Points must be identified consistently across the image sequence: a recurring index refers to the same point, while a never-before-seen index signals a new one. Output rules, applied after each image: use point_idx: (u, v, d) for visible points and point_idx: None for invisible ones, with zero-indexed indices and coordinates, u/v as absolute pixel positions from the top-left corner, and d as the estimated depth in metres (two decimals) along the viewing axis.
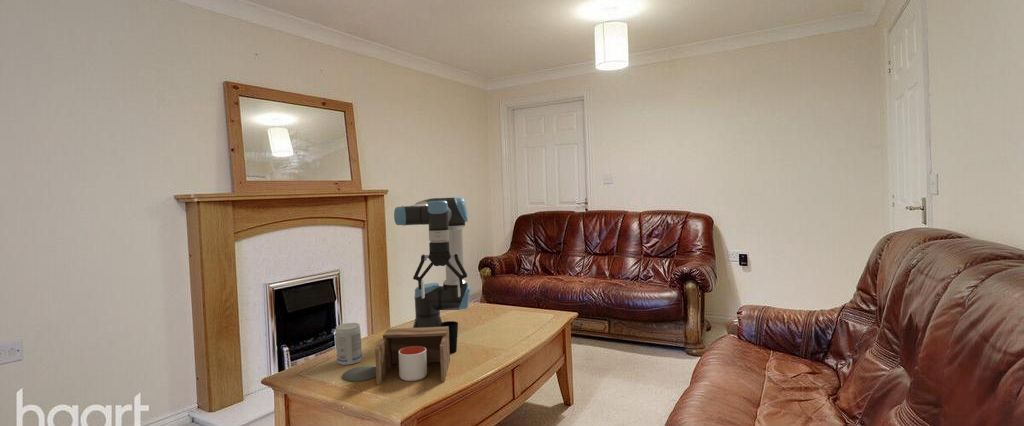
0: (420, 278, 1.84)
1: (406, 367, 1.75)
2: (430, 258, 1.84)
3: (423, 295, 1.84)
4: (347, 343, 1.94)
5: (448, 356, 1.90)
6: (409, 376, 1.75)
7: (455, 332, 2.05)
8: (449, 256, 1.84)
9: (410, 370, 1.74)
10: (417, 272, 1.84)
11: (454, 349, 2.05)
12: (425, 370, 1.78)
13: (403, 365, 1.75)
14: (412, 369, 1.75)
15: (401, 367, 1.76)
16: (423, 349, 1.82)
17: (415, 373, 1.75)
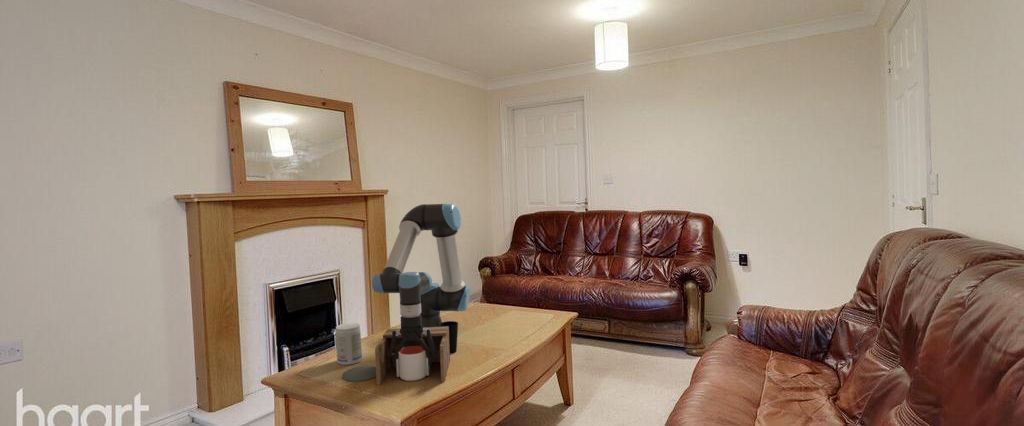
0: (395, 356, 1.78)
1: (406, 367, 1.75)
2: (401, 333, 1.78)
3: (398, 373, 1.78)
4: (347, 343, 1.94)
5: (448, 356, 1.90)
6: (409, 376, 1.75)
7: (455, 332, 2.05)
8: (421, 330, 1.78)
9: (410, 370, 1.74)
10: (391, 349, 1.78)
11: (454, 349, 2.05)
12: (425, 370, 1.78)
13: (403, 365, 1.75)
14: (412, 369, 1.75)
15: (401, 367, 1.76)
16: None
17: (415, 373, 1.75)
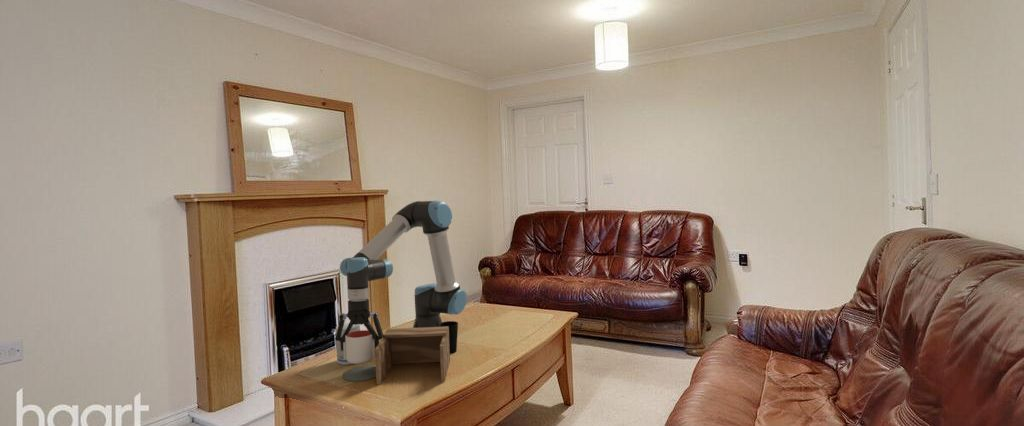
0: (342, 339, 1.82)
1: (351, 350, 1.78)
2: (348, 316, 1.82)
3: (345, 356, 1.82)
4: None
5: (448, 356, 1.90)
6: (354, 359, 1.78)
7: (455, 332, 2.05)
8: (368, 314, 1.82)
9: (355, 353, 1.78)
10: (338, 333, 1.82)
11: (454, 349, 2.05)
12: (371, 353, 1.82)
13: (349, 348, 1.79)
14: (358, 352, 1.78)
15: (347, 350, 1.80)
16: None
17: (361, 356, 1.79)
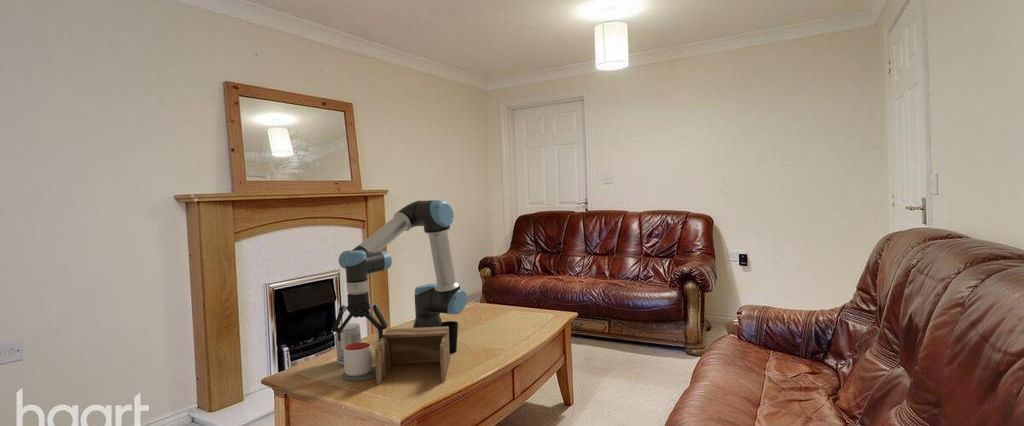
0: (339, 330, 1.82)
1: (349, 363, 1.79)
2: (348, 309, 1.82)
3: (343, 347, 1.82)
4: (347, 343, 1.94)
5: (448, 356, 1.90)
6: (352, 371, 1.79)
7: (455, 332, 2.05)
8: (368, 307, 1.82)
9: (353, 366, 1.79)
10: (336, 324, 1.82)
11: (454, 349, 2.05)
12: (369, 366, 1.82)
13: (347, 361, 1.79)
14: (355, 364, 1.79)
15: (345, 363, 1.80)
16: (369, 345, 1.87)
17: (359, 369, 1.79)
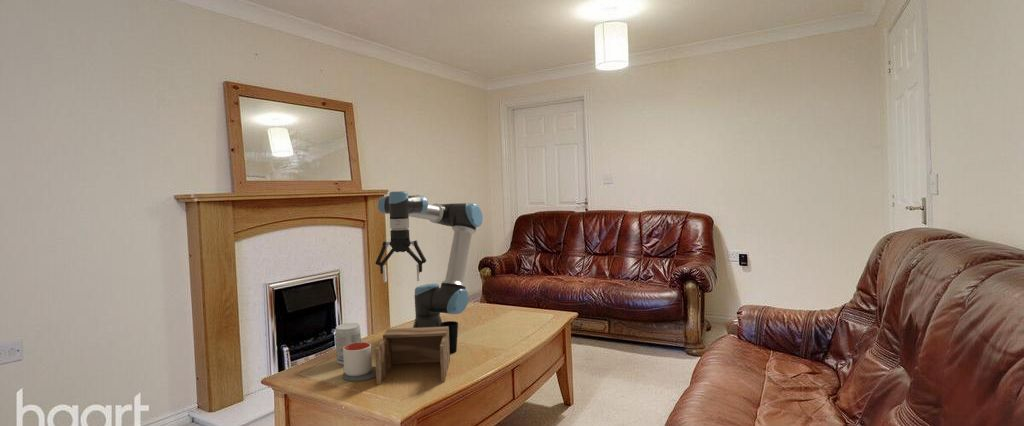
0: (382, 263, 1.98)
1: (349, 363, 1.79)
2: (391, 245, 1.98)
3: (385, 279, 1.98)
4: (347, 343, 1.94)
5: (448, 356, 1.90)
6: (352, 371, 1.79)
7: (455, 332, 2.05)
8: (409, 243, 1.98)
9: (353, 366, 1.79)
10: (379, 258, 1.98)
11: (454, 349, 2.05)
12: (369, 366, 1.82)
13: (347, 361, 1.79)
14: (355, 364, 1.79)
15: (345, 363, 1.80)
16: (369, 345, 1.87)
17: (359, 369, 1.79)
